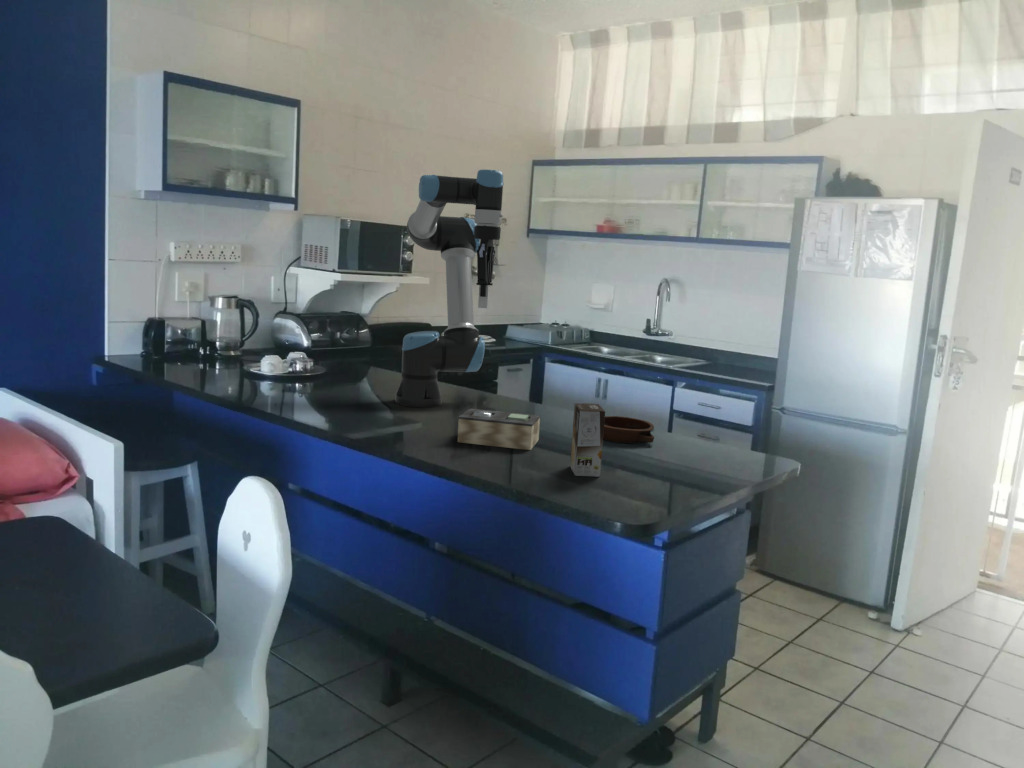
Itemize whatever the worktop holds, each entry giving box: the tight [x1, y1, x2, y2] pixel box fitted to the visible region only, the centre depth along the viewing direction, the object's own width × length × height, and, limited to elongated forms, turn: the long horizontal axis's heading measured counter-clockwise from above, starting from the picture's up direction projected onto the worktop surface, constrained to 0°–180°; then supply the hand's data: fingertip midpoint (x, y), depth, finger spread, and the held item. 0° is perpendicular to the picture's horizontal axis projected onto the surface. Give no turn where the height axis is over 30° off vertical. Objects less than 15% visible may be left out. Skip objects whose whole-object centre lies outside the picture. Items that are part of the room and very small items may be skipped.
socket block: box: [457, 407, 541, 451], centre depth 226 cm, size 20×12×7 cm, turn 78°
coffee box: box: [569, 402, 606, 478], centre depth 200 cm, size 9×6×16 cm
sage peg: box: [508, 413, 529, 421], centre depth 225 cm, size 5×5×7 cm
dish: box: [603, 415, 655, 444], centre depth 238 cm, size 18×22×5 cm
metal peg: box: [473, 411, 492, 417], centre depth 226 cm, size 5×5×7 cm
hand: (483, 307), depth 241 cm, fingers closed
